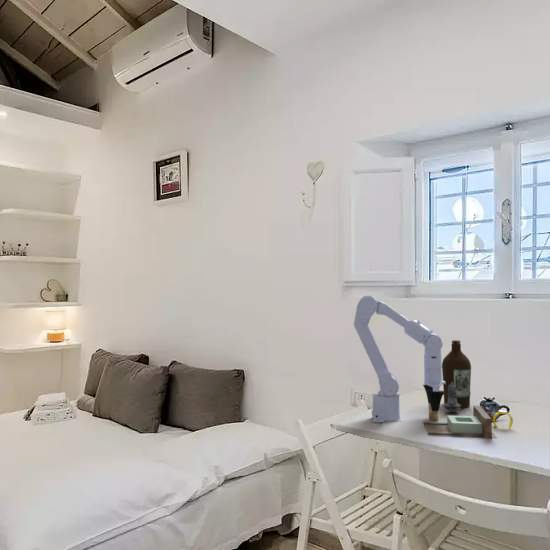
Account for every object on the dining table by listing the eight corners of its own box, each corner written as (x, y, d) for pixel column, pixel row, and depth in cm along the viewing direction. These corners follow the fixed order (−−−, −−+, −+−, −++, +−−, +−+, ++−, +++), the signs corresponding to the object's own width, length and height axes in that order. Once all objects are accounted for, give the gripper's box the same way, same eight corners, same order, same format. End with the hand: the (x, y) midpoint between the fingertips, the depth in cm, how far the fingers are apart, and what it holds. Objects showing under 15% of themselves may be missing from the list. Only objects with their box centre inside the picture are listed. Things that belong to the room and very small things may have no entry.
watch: (510, 428, 170) (511, 410, 170) (513, 431, 168) (514, 412, 168) (491, 427, 171) (492, 409, 171) (494, 429, 168) (495, 411, 168)
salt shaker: (462, 417, 184) (461, 383, 184) (445, 416, 185) (444, 382, 185) (459, 412, 189) (459, 380, 189) (443, 412, 190) (442, 379, 191)
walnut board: (428, 438, 160) (428, 416, 160) (422, 423, 176) (422, 404, 176) (497, 440, 157) (496, 418, 157) (484, 425, 173) (484, 405, 173)
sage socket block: (452, 433, 163) (451, 423, 163) (447, 425, 171) (447, 415, 171) (482, 434, 161) (482, 424, 161) (475, 426, 170) (475, 416, 170)
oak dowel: (429, 422, 177) (429, 405, 177) (428, 420, 180) (427, 402, 180) (439, 423, 177) (438, 405, 177) (437, 420, 180) (437, 403, 180)
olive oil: (437, 403, 204) (436, 339, 204) (461, 401, 207) (460, 338, 207) (452, 409, 194) (451, 342, 194) (477, 407, 196) (476, 341, 196)
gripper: (448, 372, 171) (449, 413, 171) (441, 365, 185) (442, 403, 185) (426, 372, 172) (427, 413, 172) (421, 364, 186) (421, 402, 186)
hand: (433, 408), depth 178 cm, fingers open, 7 cm apart
